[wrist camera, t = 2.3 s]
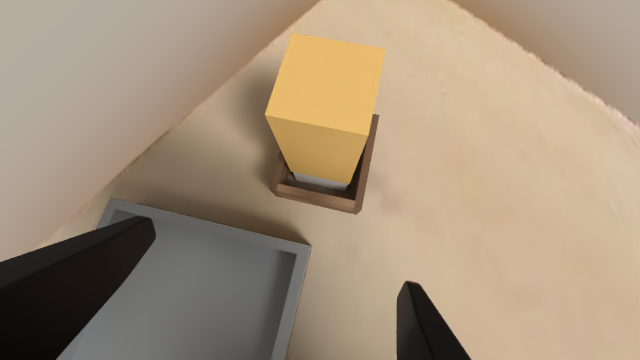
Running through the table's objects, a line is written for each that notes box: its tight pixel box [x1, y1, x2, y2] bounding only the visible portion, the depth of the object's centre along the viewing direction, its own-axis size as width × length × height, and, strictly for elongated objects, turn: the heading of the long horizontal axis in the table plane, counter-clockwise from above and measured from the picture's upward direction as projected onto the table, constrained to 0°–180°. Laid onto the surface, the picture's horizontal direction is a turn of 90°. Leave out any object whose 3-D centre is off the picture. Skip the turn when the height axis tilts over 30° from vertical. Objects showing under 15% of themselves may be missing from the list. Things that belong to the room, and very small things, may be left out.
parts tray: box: [56, 198, 312, 360], centre depth 18 cm, size 17×17×3 cm
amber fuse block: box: [265, 33, 385, 191], centre depth 18 cm, size 5×5×12 cm
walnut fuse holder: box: [269, 114, 379, 215], centre depth 22 cm, size 8×9×3 cm
